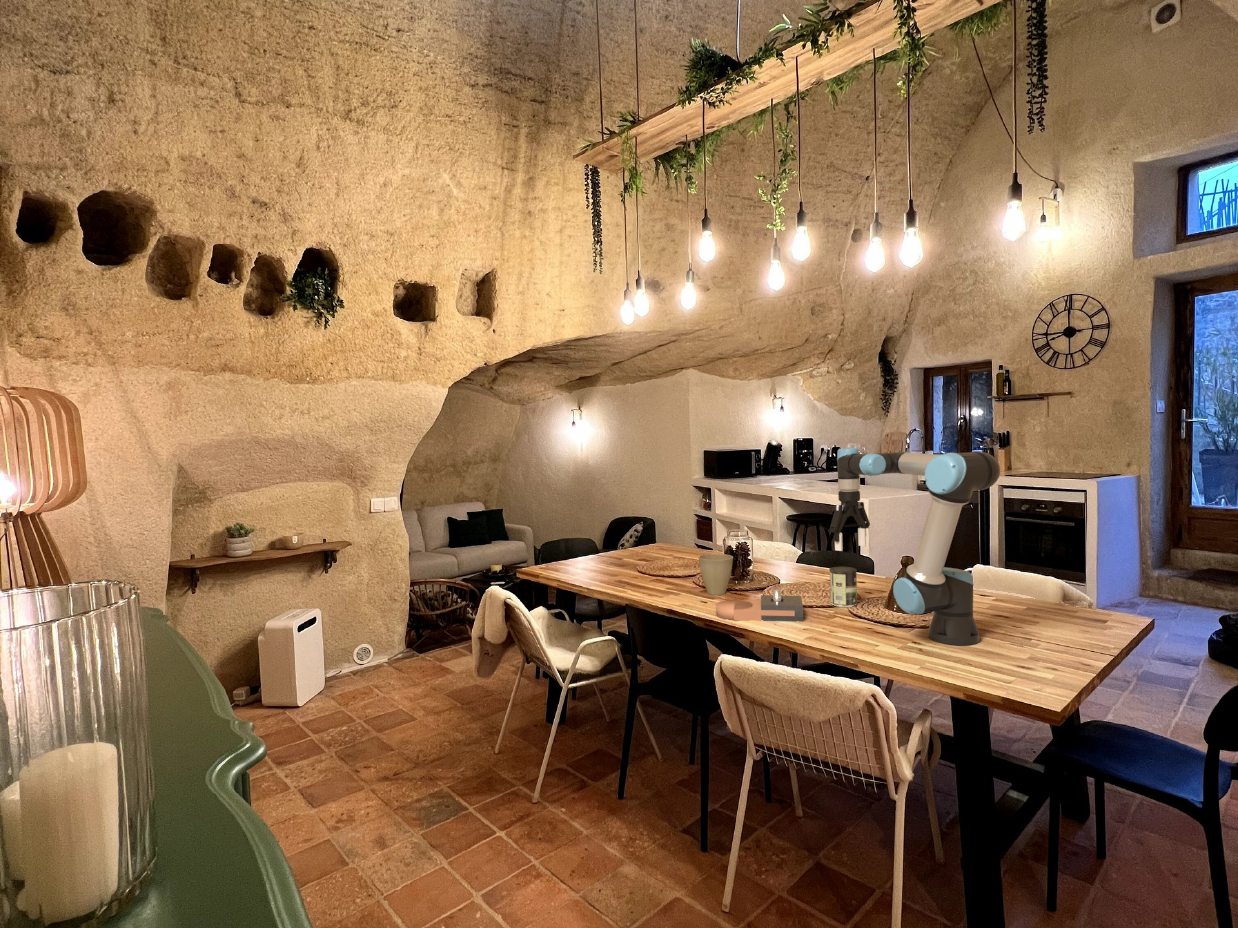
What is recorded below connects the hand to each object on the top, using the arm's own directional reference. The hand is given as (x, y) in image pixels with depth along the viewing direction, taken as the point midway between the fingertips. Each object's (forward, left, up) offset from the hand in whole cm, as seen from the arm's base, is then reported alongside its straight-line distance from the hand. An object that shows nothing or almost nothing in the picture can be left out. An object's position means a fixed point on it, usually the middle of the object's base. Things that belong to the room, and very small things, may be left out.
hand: (850, 548), depth 253 cm
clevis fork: (+1, +25, -26) cm, 36 cm away
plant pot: (+35, +52, -26) cm, 68 cm away
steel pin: (+1, +27, -26) cm, 37 cm away
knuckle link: (+1, +35, -26) cm, 44 cm away
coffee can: (+20, +1, -26) cm, 33 cm away
